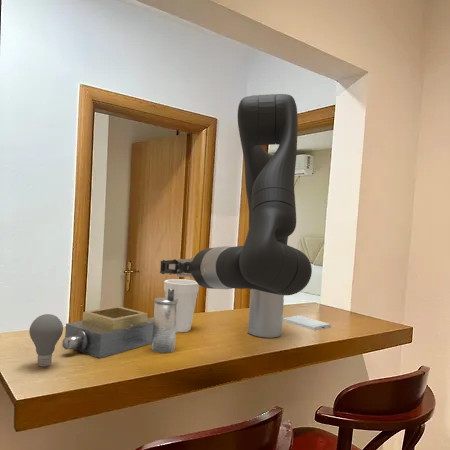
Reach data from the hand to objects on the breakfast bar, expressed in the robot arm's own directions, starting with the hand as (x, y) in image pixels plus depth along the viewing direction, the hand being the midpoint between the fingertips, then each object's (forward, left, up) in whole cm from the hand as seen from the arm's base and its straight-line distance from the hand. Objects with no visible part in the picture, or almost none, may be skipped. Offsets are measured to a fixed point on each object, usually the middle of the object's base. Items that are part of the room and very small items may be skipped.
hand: (183, 269), depth 89 cm
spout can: (-3, -7, -20) cm, 21 cm away
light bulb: (+21, -16, -20) cm, 33 cm away
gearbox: (+4, -18, -19) cm, 27 cm away
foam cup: (-19, -16, -20) cm, 32 cm away
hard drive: (-53, +7, -20) cm, 57 cm away
